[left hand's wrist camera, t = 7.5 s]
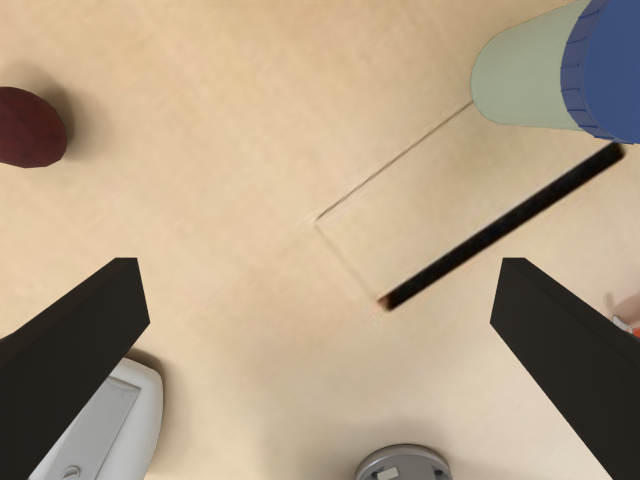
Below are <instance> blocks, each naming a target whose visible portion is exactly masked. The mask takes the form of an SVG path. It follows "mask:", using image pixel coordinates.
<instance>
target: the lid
mask: <svg viewBox="0 0 640 480" xmlns="http://www.w3.org/2000/svg"><path fill="white" fill-rule="evenodd" d="M560 69H561V70H560V85H561V93H562V97H563V101H564V104H565V106H566V109H567V112H568V113H569V114H570V116H571V117H572V119H573V120H574V121H575V122H576V123H577V124H578V127H579V128H582V129H583V130H585V131H586V132H587V133H589V134H591V135H593V136H594V138H601V139H604V140H610V141H613V142H615V143H624V144H633V145H634V143H636V144H640V0H591V1H590V3H589V4H588V5H587V7H586V8H585V9H584V11H583V12H582V13H581V15H580V16H579V17H578V20H577V22H576V23H575V25H574V27H573V29H572V31H571V33H570V35H569V38H568V41H567V42H566V46H565V49H564V53H563V57H562V62H561V67H560Z"/></svg>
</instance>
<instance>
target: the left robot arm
mask: <svg viewBox="0 0 640 480" xmlns="http://www.w3.org/2000/svg"><path fill="white" fill-rule="evenodd" d="M149 324H150V319H149V314H148V309H147V304H146V299H145V295H144V290H143V285H142V280H141V275H140V270H139V265H138V260H137V258H114V259H113V260H112V261H110V262H109V263H108V264H106V265H105V266H104V267H102V268H101V269H99V270H98V271H97V272H95V273H94V274H93V275H91V276H90V277H89V278H87V279H86V280H85V281H83V282H82V283H80V284H79V285H78V286H76V287H75V288H74V289H72V290H71V291H70V292H68V293H67V294H65V295H64V296H63V297H61V298H60V299H59V300H57V301H56V302H55V303H53V304H52V305H51V306H49V307H48V308H46V309H45V310H44V311H42V312H41V313H40V314H38V315H37V316H36V317H34V318H33V319H31V320H30V321H29V322H27V323H26V324H25V325H23V326H22V327H21V328H19V329H18V330H17V331H15V332H14V333H12V334H10V335H8V336H6V337H4V338H2V339H0V480H27V479H28V478H29V476H30V475H31V474H32V473H33V471H34V470H35V469H36V468H37V466H38V465H39V464H40V462H41V461H42V460H43V459H44V457H45V456H46V455H47V454H48V452H49V451H50V450H51V449H52V447H53V446H54V445H55V443H56V442H57V441H58V440H59V438H60V437H61V436H62V435H63V433H64V432H65V431H66V429H67V428H68V427H69V426H70V424H71V423H72V422H73V421H74V419H75V418H76V417H77V415H78V414H79V413H80V412H81V410H82V409H83V408H84V407H85V405H86V404H87V403H88V402H89V400H90V399H91V398H92V396H93V395H94V394H95V393H96V391H97V390H98V389H99V388H100V386H101V385H102V384H103V382H104V381H105V380H106V379H107V377H108V376H109V375H110V374H111V372H112V371H113V370H114V368H115V367H116V366H117V365H118V363H119V362H120V361H121V360H122V358H123V357H124V356H125V355H126V353H127V352H128V351H129V349H130V348H131V347H132V346H133V344H134V343H135V342H136V341H137V339H138V338H139V337H140V335H141V334H142V333H143V332H144V330H145V329H146V328H147V327H148V325H149ZM490 324H491V325H492V327H493V328H494V329H495V330H496V332H497V333H498V334H499V335H500V337H501V338H502V339H503V341H504V342H505V343H506V344H507V346H508V347H509V348H510V349H511V351H512V352H513V353H514V355H515V356H516V357H517V358H518V360H519V361H520V362H521V363H522V365H523V366H524V367H525V368H526V370H527V371H528V372H529V374H530V375H531V376H532V377H533V379H534V380H535V381H536V382H537V384H538V385H539V386H540V388H541V389H542V390H543V391H544V393H545V394H546V395H547V396H548V398H549V399H550V400H551V402H552V403H553V404H554V405H555V407H556V408H557V409H558V410H559V412H560V413H561V414H562V415H563V417H564V418H565V419H566V421H567V422H568V423H569V424H570V426H571V427H572V428H573V429H574V431H575V432H576V433H577V435H578V436H579V437H580V438H581V440H582V441H583V442H584V443H585V445H586V446H587V447H588V449H589V450H590V451H591V452H592V454H593V455H594V456H595V457H596V459H597V460H598V461H599V462H600V464H601V465H602V466H603V468H604V469H605V470H606V471H607V473H608V474H609V475H610V476H611V478H612V479H613V480H640V338H639V337H637V336H635V335H633V334H631V333H629V332H627V331H625V330H622V329H621V328H619V327H618V326H617V325H615V324H614V323H613V322H611V321H610V320H609V319H607V318H606V317H604V316H603V315H602V314H600V313H599V312H598V311H596V310H595V309H594V308H592V307H591V306H589V305H588V304H587V303H585V302H584V301H583V300H581V299H580V298H579V297H577V296H576V295H575V294H573V293H572V292H570V291H569V290H568V289H566V288H565V287H564V286H562V285H561V284H560V283H558V282H557V281H555V280H554V279H553V278H551V277H550V276H549V275H547V274H546V273H545V272H543V271H542V270H541V269H539V268H538V267H536V266H535V265H534V264H532V263H531V262H530V261H528V260H527V259H526V258H503V260H502V265H501V270H500V275H499V280H498V285H497V290H496V295H495V299H494V304H493V309H492V314H491V319H490ZM355 480H452V476H451V473H450V471H449V468H448V465H447V463H446V462H445V460H444V459H443V458H442V457H441V456H440V455H439V454H437V453H436V452H434V451H432V450H430V449H428V448H425V447H421V446H416V445H396V446H391V447H387V448H384V449H381V450H379V451H377V452H375V453H373V454H371V455H370V456H368V457H367V458H366V459H365V460H364V461H363V462H362V463H361V464H360V466H359V467H358V469H357V471H356V474H355Z"/></svg>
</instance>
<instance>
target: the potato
mask: <svg viewBox="0 0 640 480" xmlns="http://www.w3.org/2000/svg"><path fill="white" fill-rule="evenodd" d="M66 146H67V137H66V132H65V128H64V125H63V123H62V121H61V119H60V117H59V115H58V114H57V112H56V110H55V109H54V108H53V107H52V106H51V105H50V104H48V103H47V102H46V101H45V100H43V99H42V98H40V97H38V96H36V95H35V94H33V93H31V92H28V91H25V90H22V89H19V88H14V87H0V162H1V163H5V164H9V165H14V166H18V167H22V168H35V167H47V166H49V165H51V164H53V163H55V162H57V161H59V160H61V158H62V156H63V155H64V153H65V151H66Z"/></svg>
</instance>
